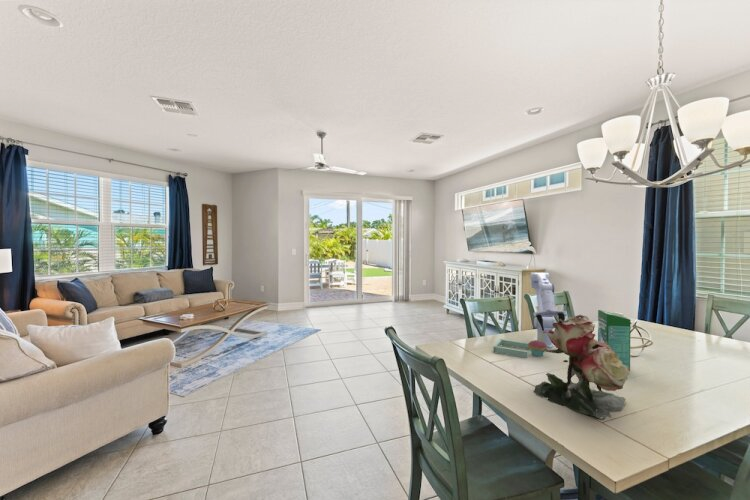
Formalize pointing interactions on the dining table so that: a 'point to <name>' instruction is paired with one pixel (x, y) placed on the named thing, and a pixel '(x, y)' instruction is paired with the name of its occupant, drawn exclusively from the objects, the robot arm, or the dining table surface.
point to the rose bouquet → (584, 370)
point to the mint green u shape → (511, 351)
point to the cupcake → (537, 346)
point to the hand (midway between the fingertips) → (551, 329)
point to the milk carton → (615, 334)
